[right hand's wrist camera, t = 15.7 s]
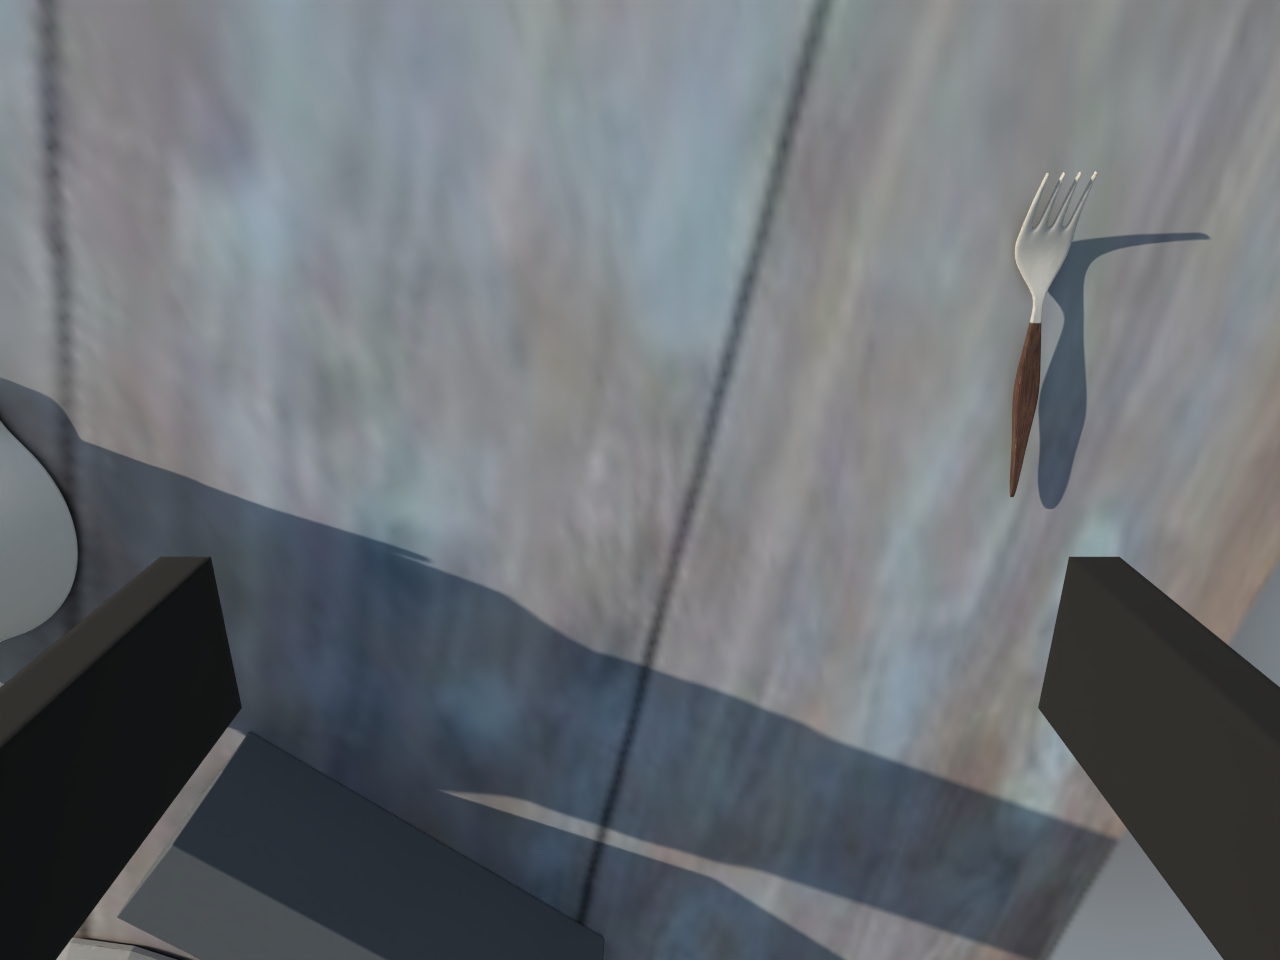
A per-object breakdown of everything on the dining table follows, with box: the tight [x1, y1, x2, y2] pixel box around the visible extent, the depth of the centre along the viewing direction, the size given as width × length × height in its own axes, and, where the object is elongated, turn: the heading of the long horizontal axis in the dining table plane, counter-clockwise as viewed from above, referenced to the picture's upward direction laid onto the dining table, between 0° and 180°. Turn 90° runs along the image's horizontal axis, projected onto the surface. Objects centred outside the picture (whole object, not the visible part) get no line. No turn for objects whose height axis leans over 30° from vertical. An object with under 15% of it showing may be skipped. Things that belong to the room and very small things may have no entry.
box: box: [117, 732, 604, 960], centre depth 49 cm, size 27×6×9 cm, turn 51°
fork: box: [1010, 172, 1098, 497], centre depth 40 cm, size 3×16×2 cm, turn 2°
